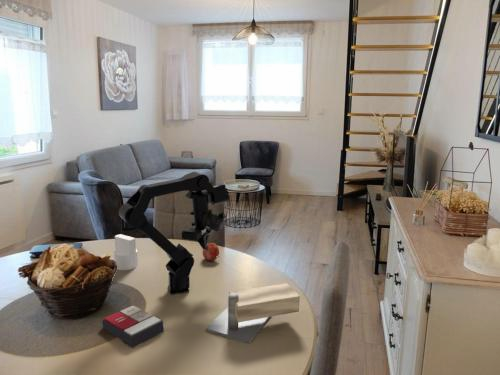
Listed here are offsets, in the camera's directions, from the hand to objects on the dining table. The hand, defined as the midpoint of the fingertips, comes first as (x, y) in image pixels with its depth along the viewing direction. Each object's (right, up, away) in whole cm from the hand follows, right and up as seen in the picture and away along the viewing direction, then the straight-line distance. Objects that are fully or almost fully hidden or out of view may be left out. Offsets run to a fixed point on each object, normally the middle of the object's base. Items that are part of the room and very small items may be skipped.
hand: (204, 248), depth 148 cm
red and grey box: (-18, -20, -28) cm, 38 cm away
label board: (+15, -18, -19) cm, 30 cm away
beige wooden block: (+20, -18, -24) cm, 36 cm away
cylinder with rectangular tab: (-33, -9, +17) cm, 38 cm away
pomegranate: (0, -8, +24) cm, 26 cm away
